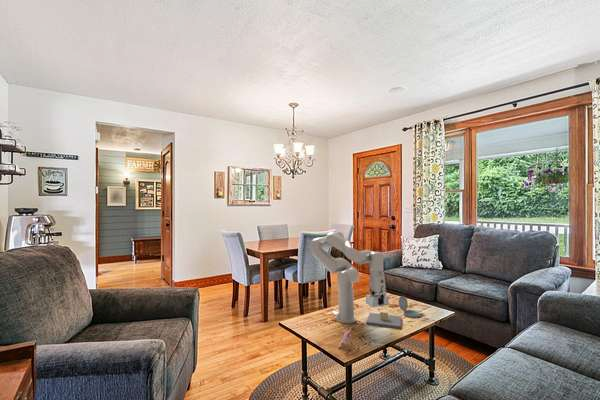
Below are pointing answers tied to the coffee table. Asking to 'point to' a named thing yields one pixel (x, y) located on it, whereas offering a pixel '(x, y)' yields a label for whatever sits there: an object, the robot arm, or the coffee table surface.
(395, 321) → the grey piece
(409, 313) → the pocket watch
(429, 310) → the coffee table surface
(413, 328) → the coffee table surface
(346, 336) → the lily
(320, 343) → the coffee table surface
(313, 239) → the robot arm
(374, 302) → the slotted block
